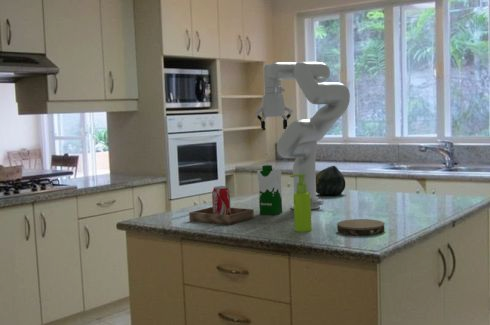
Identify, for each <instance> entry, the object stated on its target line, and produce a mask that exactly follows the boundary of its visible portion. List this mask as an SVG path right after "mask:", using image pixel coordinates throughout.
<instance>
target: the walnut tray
mask: <svg viewBox="0 0 490 325" xmlns="http://www.w3.org/2000/svg"><path fill="white" fill-rule="evenodd" d="M230 209H231V212H230V215H218V214H213V206H210V207H205V208H201V209H198V210H192V211H190V212H189V213H188V216H189V218H188V219H189V222H197V223H205V224H213V223H214V224H215V225H223V226H231V225H235V224H238V223H241V222H245V221H248V220H252V219H255V216H254V214H255V212H254V209H252V208H242V207H231V206H230Z"/></svg>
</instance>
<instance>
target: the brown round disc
mask: <svg viewBox="0 0 490 325" xmlns="http://www.w3.org/2000/svg"><path fill="white" fill-rule="evenodd" d="M336 225H337V226H336V227H337V228H336V230H337V233H338V234H340V235H344V236H351V237H352V236H354V237H358V236H359V237H370V236H377V235H380V234H381V235H382V234H383V233H384V232H385V222H384V221H382V220H377V219H370V218H369V219H368V218H355V219H354V218H353V219H344V220H341V221H338V222H337V224H336Z"/></svg>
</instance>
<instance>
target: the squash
mask: <svg viewBox="0 0 490 325" xmlns="http://www.w3.org/2000/svg"><path fill="white" fill-rule="evenodd" d="M315 175H316V194H318V195H319V196H325V195H332V196H339V195H341V194H343V192H344V191H345V189H346V180H345V178H344V174H342V172H341V171H340V170H339V169H338V167H337V166H336V165H331V166H328V167H326V168H324V169H322V170H320V171H319V172H318V173H317V174H315Z"/></svg>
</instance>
